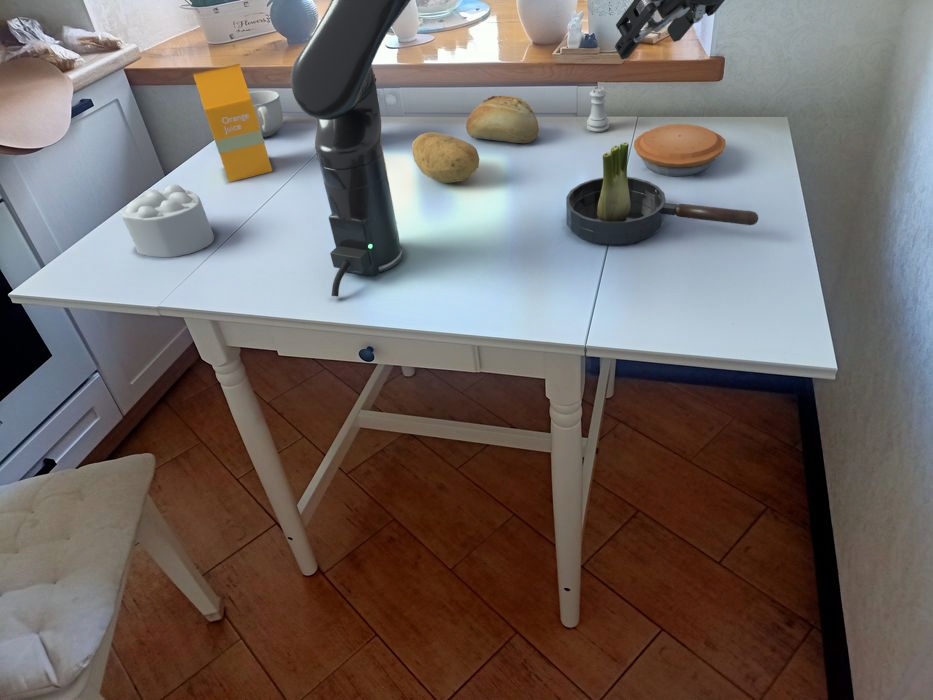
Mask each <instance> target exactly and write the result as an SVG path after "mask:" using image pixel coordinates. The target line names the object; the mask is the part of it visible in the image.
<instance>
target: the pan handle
mask: <svg viewBox="0 0 933 700" xmlns="http://www.w3.org/2000/svg"><path fill="white" fill-rule="evenodd" d="M662 214H664V215H665V216H672V217H675V216H676V217H677V218H684V219H685V218H686V219H692V220H701V221H709V222H718V223H727V224H736V225H737V224H738V225H744V226H753V225H756V224H757V223H758V221H759V214H758V213H757V212H756V211H753V210H744V209H735V208H726V207H724V208H723V207H716V206H707V205H697V204H689V203H678V204H677V203H672V202H666V203H665V204H664V206H663V212H662Z"/></svg>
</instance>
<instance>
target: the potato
mask: <svg viewBox="0 0 933 700" xmlns="http://www.w3.org/2000/svg"><path fill="white" fill-rule="evenodd" d="M411 151H412V156H413V161H414V163H415V164H416V166H417V167H418V168H419V170H420V172H421V173H422V174H423V175H424V176H426V177H428V178H430V179H431V180H434V181H437V182H440V183H441V184H449V183H451V184H452V183H456V182H461V181H465V180H467V179H469V178H470V177H471V176H472V175H473V174H475V172H477V170H478V169H479V167H480V161H481V160H480V159H481V158H480V156H479V155H480V154H479V152H478V150H477V148H476V147H475V146H474V145H473V144H471V143H469V142H467V141H465V140H463V139H461V138H459V137H455V136H453V135H448V134H444V133H441V132H434V131H432V132H425V133H421V134H419V135H418V136H417V137H416V138H415V139H414V140H413V142H412V147H411Z"/></svg>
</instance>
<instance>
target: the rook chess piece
mask: <svg viewBox="0 0 933 700" xmlns="http://www.w3.org/2000/svg"><path fill="white" fill-rule="evenodd" d="M597 87H598V88H597ZM607 94H608V92H607V91H606V88H605V86H601V85H598V86H593V87H592V88H591V91H590V92H589V96H590V97H591V100H590V103H591V107H590V108H591V109H590V114H589V116H588V118H587V120H586V124H587V125H586V129H587V130H588V131H589V132H591V133H598V134H599V133H603V132H606V131H607V130H608V129H609V128H610V125H609V122H610V120H609V118H608V115H607V114H606V108H605V103H606V99H605V97H606V95H607Z"/></svg>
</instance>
